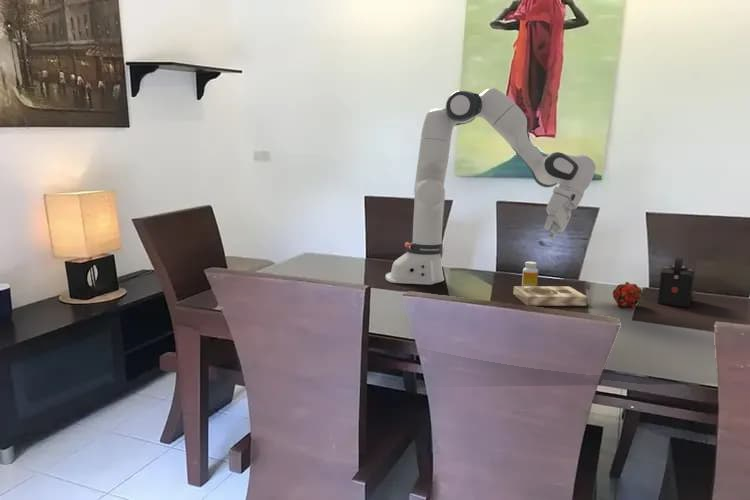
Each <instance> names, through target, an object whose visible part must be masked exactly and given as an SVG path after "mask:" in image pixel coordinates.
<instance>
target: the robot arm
mask: <svg viewBox="0 0 750 500" xmlns="http://www.w3.org/2000/svg"><path fill="white" fill-rule="evenodd" d="M477 117H479V118H482V119H483V120H485V121H486V122H487V123H488V124H489V125H490V126H491V127H492V128H493V129H494V130H495V131H496V132H497V133H498V134H499V135H500V136H501V137H502V138H503V139H504V140H505V141H506V142H507V143H508V144H509V146H510V147H511V149H512V150H513V151H514V152H515V153H516V154H517V156H519V158H520V159H521V160H522V162H523V163H524V164H525V165H526V166H527V167H528V168H529V170H530V172H531V174H532V176H533V179H534V181H535V182H536V184H537V185H539V186H540V187H543V188H553V187H554V186H555V187H554V188H553V190H552V195H551V197H550V199H549V201H548V203H547V205H546V209H545V210H546V213H547V216H546V220H545V224H544V225H543V228H544V230H547V231H549V230H550V229H551V227H552V229H551V230H550V231H549V233H548V235H547V236H548V238H549V239H550V240H552V239H553V240H554V238H555V236H556V235H557V234H558V233H559V232H561V233H564V231H565V230H566V228H567V226H568V224H569V222H570V219H571V217H572V210H576V209H577V208H578V206H579V205H580V203H581V201H582V199H583V197H584V193H585V191H586V190H587V189H588V187H590V184H591V182H592V180H593V177H594V176H595V173H596V163H595V161H593V160H592V159H591V158H590V157H589V156H586V155H584V154H577V155H569V154H565V153H563V152H560V151H559V152H557V151H556V152H552V153H550V154H548V155H547V156H546V157H545V156H544V155H543V154H542V153H541V152H540V151H539V150H538V149H537V147H536V146H534V144H533V143H532V142H531V141H530V139H529V136H528V120H527V119H528V118H527V116H526V114H525V112H523V110H522V109H521V108H520V107H519V106H518V104H516V102H514V101H513V100H512V99H511V98H510V97H509V96H508V95H506V94H505V93H504V92H502V91H501V90H499V89H498V88H495V87H490V88H486V89H485V90H484V91H483V92H482V93H480V94H478V93H475V92H471V91H467V90H457V91H454V92H453V93H452V94H451V95H449V96H448V98H447V100H446V103H445V107H444V108H434V109H430V110H429V111H428V112H427V113H426V115H425V119H424V122H423V125H422V129H421V135H420V141H419V142H420V143H419V149H418V150H419V151H418V159H417V168H416V172H415V181H414V188H413V193H414V194H413V195H414V201H413V202H414V203H413V206H414V207H413V220H412V221H413V222H412V242H408V241H406V242H405V243H404V246H405V248H406V252H405V253H404V254H402V255H401V256H400V257H397V259H395V260H394V261H393V263H392V265H391V266H392V267H391V271H390V272H387V273H386V274H385V280H386V281H387V282H389V283H394V284H411V285H412V284H414V285H429V286H431V285H434V284H438V283H441V282H444V280H445V278H444V272H443V264H442V263H443V262H442V257H443V255H444V254H443V253H444V252H443V251H444V247H443V245H444V244H443V243H442V242H443V241H442V239H443V225H444V224H443V222H444V213H445V212H444V211H445V201H446V200H445V199H446V189H445V187H444V186H445V180H446V173H447V168H448V165H449V158H450V157H449V156H450V150H451V149H450V147H451V141H452V135H453V130H454V127H455V126H461V125H466V124H469V123H471V122H472V121H474V120H475V119H476V118H477ZM558 184H559V186H556V185H558Z"/></svg>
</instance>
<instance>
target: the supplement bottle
mask: <svg viewBox="0 0 750 500" xmlns="http://www.w3.org/2000/svg"><path fill="white" fill-rule="evenodd" d="M537 265H538V264H537V262H535V261H526V262H524V266H525V267H524V268H523V269H522V278H521V286H538V278H539V277H538V276H539V269H538V268H537Z"/></svg>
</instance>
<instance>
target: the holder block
mask: <svg viewBox="0 0 750 500" xmlns="http://www.w3.org/2000/svg"><path fill="white" fill-rule="evenodd" d="M512 294H513V296H514V295H515V298H517V299H518V300H520V301H521V302H522V303H523V304H525V305H526V306H563V307H564V306H565V307H566V306H569V307H570V306H584V307H585V306H587V303H588V296H587V295H585V294H584V293H582V292H580V291H578V290H576V289H575V288H573V287H572V286H561V285H560V286H557V285H556V286H555V285H554V286H551V285H549V286H548V285H546V286H544V285H543V286H542V285H541V286H540V285H539V286H538V285H537V286H522V285H521V286H520V285H519V286H518V285H517V286H515V285H514V286H513V293H512Z"/></svg>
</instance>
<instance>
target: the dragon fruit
mask: <svg viewBox="0 0 750 500" xmlns="http://www.w3.org/2000/svg"><path fill="white" fill-rule="evenodd" d="M642 294H643V290H642V288H641V287H639V286H638V285H637V284H636V283H630V282H628V281H625V283H621V284H618V285H617V286H616V287H615V288H614V290H613V292H612V295H613V296H612V297H613V299H614V301H615V302H616V305H617V308H620V307H621V308H625V307H630V308H635V307H636V306H637V304H639V303H641V302H642V301H643V298H641V296H642Z"/></svg>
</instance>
